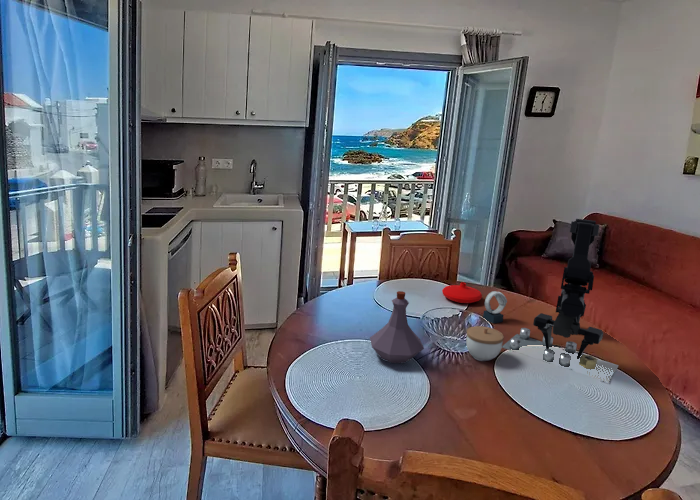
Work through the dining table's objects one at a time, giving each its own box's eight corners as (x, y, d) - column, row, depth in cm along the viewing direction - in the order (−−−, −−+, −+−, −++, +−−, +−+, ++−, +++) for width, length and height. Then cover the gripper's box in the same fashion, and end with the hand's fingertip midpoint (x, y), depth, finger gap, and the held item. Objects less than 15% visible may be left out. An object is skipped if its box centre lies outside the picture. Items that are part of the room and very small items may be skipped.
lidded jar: (480, 368, 140) (484, 338, 138) (456, 352, 150) (460, 323, 147) (508, 361, 145) (512, 332, 143) (483, 346, 154) (487, 319, 152)
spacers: (521, 335, 164) (522, 327, 163) (579, 353, 153) (581, 344, 152) (505, 348, 153) (507, 339, 152) (567, 368, 142) (569, 359, 141)
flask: (427, 350, 150) (434, 288, 144) (416, 374, 134) (424, 307, 129) (376, 339, 155) (381, 280, 149) (360, 362, 139) (365, 296, 134)
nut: (582, 360, 148) (583, 352, 147) (597, 365, 145) (598, 357, 145) (577, 366, 144) (579, 358, 144) (593, 370, 142) (594, 362, 141)
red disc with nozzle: (441, 304, 189) (443, 287, 188) (441, 291, 204) (442, 275, 203) (483, 309, 187) (485, 291, 185) (479, 295, 202) (481, 279, 200)
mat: (516, 335, 165) (516, 333, 165) (618, 366, 146) (618, 365, 146) (500, 348, 154) (501, 347, 154) (608, 383, 136) (608, 382, 136)
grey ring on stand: (506, 322, 175) (510, 293, 172) (488, 325, 172) (493, 295, 169) (496, 316, 180) (500, 288, 177) (478, 319, 177) (482, 290, 174)
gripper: (531, 304, 145) (523, 352, 148) (599, 322, 133) (588, 373, 137) (543, 295, 153) (535, 341, 157) (608, 312, 142) (597, 360, 146)
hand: (562, 353), depth 149 cm, fingers open, 9 cm apart
